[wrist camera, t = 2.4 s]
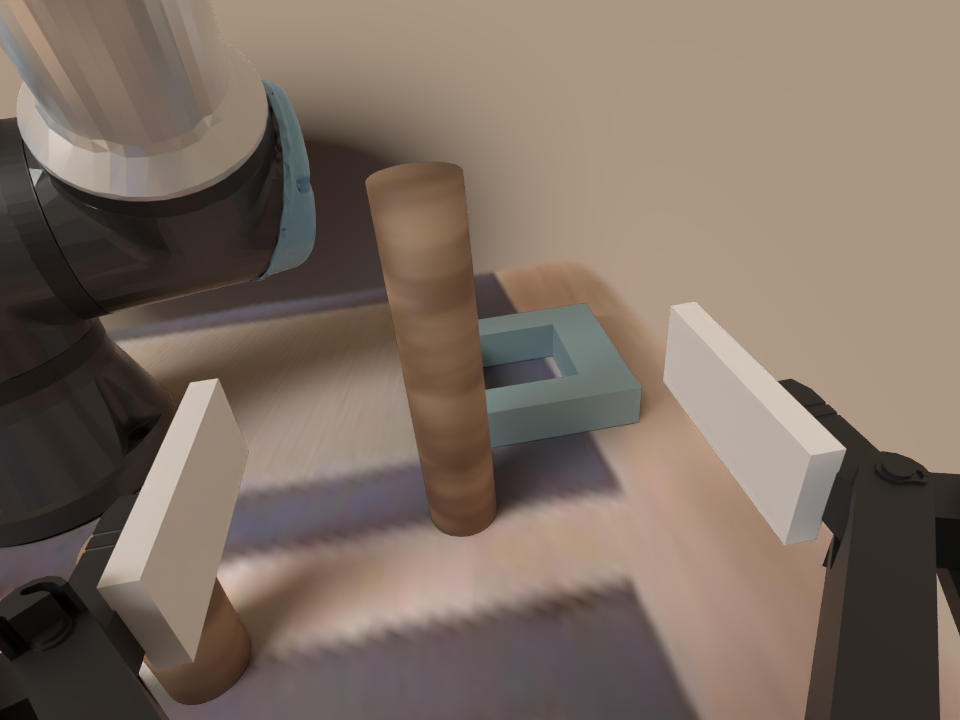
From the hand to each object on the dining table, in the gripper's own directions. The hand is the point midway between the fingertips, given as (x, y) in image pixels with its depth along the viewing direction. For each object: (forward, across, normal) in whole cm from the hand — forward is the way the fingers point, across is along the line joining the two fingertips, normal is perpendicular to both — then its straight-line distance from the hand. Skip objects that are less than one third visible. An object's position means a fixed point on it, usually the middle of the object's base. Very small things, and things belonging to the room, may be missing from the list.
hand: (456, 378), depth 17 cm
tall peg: (+10, 0, -17) cm, 20 cm away
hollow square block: (+21, +6, -17) cm, 28 cm away
